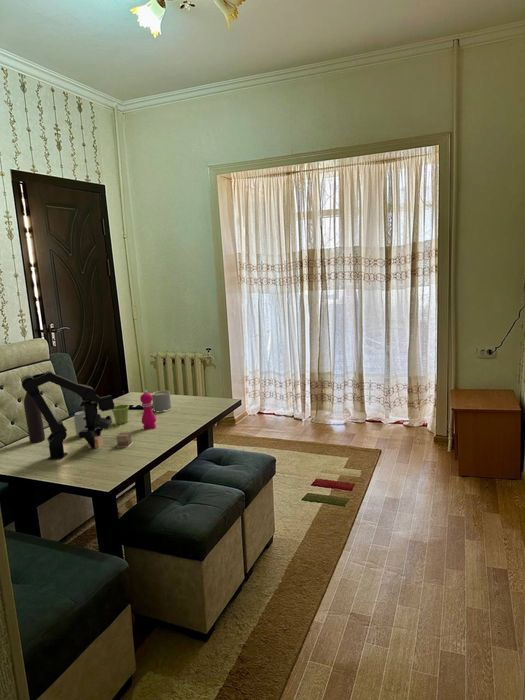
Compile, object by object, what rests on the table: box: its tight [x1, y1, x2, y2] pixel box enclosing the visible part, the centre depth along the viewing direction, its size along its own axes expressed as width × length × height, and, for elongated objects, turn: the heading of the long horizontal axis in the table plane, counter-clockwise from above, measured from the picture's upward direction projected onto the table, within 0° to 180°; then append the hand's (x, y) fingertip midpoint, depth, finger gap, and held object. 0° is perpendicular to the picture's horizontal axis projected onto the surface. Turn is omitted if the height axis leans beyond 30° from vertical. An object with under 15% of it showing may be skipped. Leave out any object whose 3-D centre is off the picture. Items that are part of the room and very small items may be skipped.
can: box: [73, 410, 88, 438], centre depth 247 cm, size 8×8×12 cm
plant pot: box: [111, 404, 130, 425], centre depth 264 cm, size 9×9×9 cm
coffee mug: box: [151, 390, 172, 411], centre depth 283 cm, size 13×10×10 cm
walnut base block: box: [116, 431, 133, 448], centre depth 227 cm, size 5×5×5 cm
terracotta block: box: [87, 435, 104, 449], centre depth 228 cm, size 5×5×5 cm
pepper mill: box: [139, 390, 157, 431], centre depth 250 cm, size 7×7×20 cm
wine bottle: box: [23, 391, 46, 444], centre depth 243 cm, size 7×7×30 cm
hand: (95, 445), depth 228 cm, fingers closed on terracotta block, 5 cm apart
